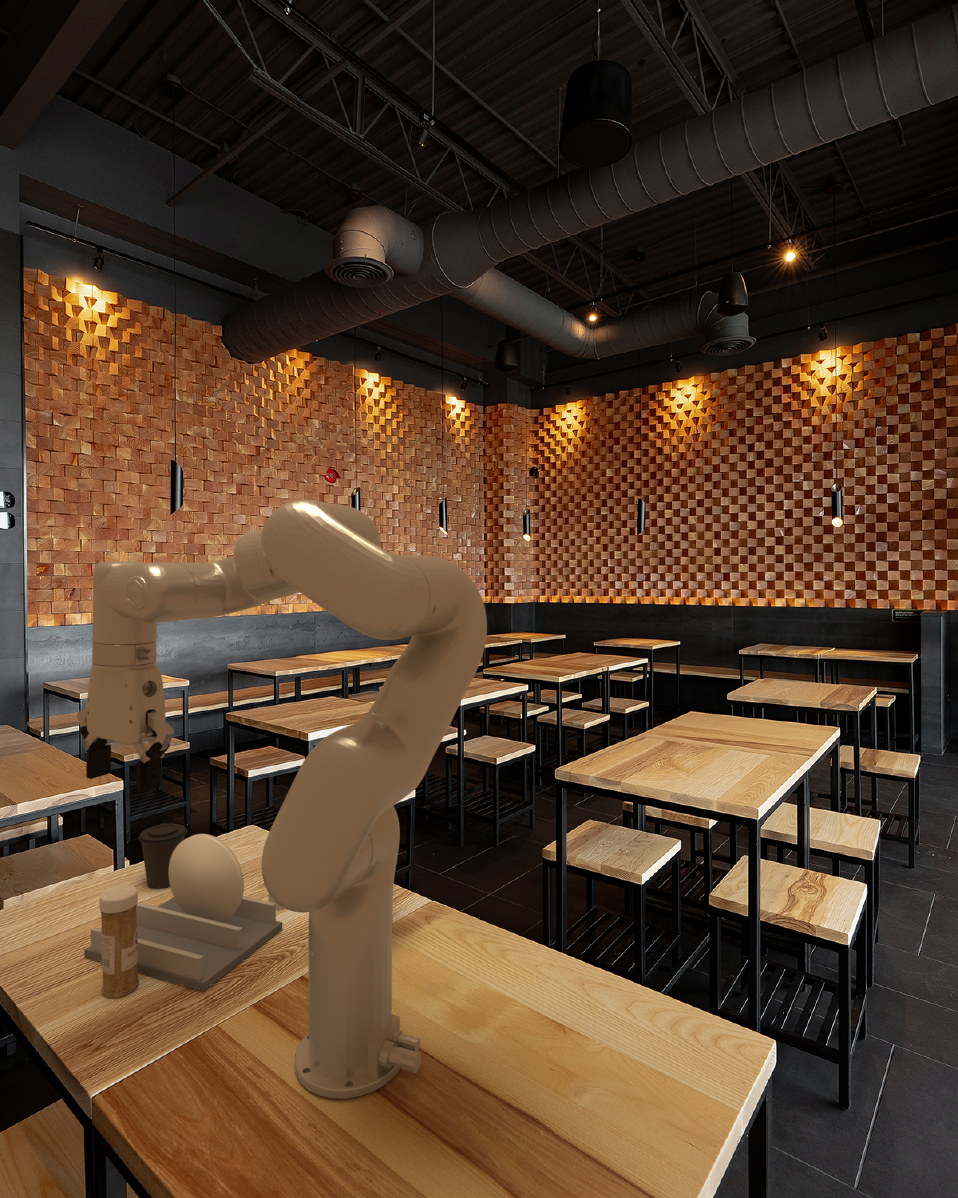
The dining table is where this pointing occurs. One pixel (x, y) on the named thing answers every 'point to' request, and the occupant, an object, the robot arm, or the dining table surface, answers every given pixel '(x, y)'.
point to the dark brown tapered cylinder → (160, 852)
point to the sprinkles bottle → (119, 940)
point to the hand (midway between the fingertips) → (123, 782)
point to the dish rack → (199, 919)
